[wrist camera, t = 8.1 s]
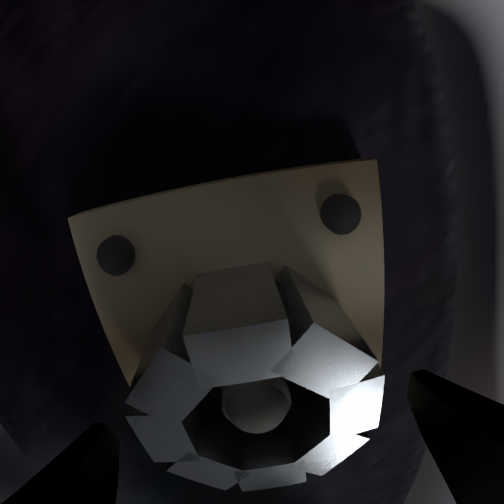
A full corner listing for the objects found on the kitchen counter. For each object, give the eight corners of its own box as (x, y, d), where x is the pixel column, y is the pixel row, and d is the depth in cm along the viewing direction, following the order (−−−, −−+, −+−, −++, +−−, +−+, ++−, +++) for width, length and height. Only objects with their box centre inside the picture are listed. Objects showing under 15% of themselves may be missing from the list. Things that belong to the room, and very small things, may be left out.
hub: (343, 401, 12) (370, 464, 8) (185, 427, 12) (178, 495, 8) (338, 248, 10) (390, 295, 6) (130, 285, 10) (89, 346, 6)
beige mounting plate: (366, 410, 14) (399, 477, 9) (173, 443, 14) (164, 515, 9) (361, 158, 10) (441, 165, 6) (82, 211, 10) (5, 248, 6)
